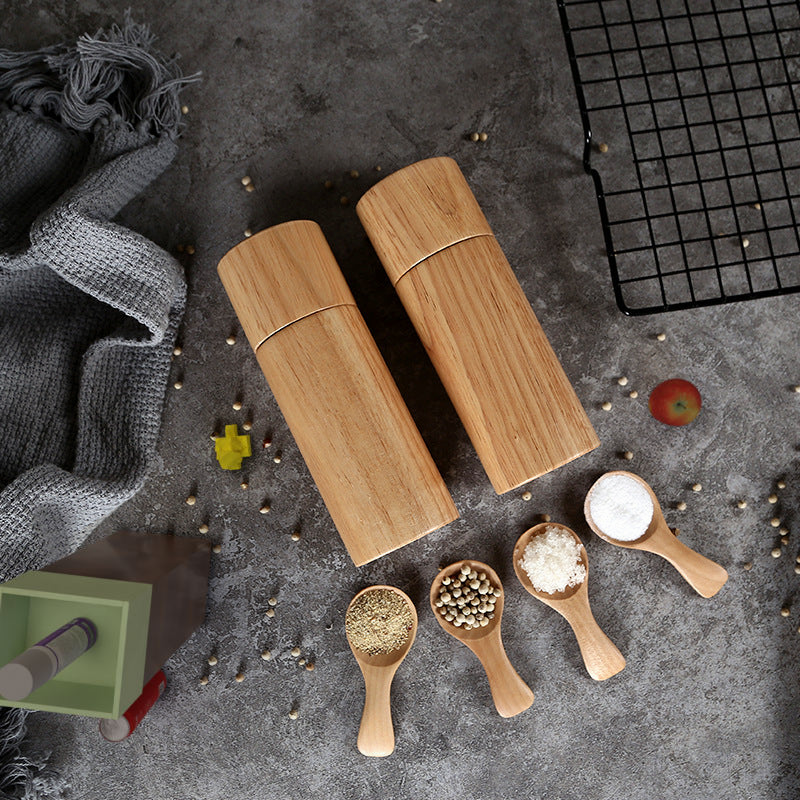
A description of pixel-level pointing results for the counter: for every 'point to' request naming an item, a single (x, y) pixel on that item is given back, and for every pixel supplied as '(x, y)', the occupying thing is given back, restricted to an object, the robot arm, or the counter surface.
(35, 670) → the container
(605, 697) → the counter surface
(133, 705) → the beverage can
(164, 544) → the stand
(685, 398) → the apple
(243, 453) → the yellow cross puzzle piece
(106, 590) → the bin
